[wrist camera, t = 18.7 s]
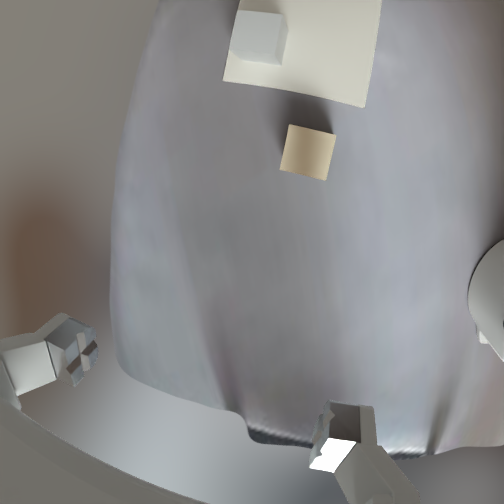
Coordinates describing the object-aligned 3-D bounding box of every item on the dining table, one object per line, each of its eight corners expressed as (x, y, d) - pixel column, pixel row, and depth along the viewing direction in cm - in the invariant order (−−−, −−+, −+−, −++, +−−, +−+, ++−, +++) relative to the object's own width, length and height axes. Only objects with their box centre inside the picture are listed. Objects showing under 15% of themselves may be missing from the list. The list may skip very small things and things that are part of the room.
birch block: (333, 135, 33) (336, 135, 28) (324, 173, 35) (325, 180, 30) (293, 125, 33) (289, 124, 28) (285, 164, 35) (279, 169, 30)
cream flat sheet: (386, -45, 22) (386, -46, 22) (364, 108, 31) (364, 108, 31) (257, -65, 24) (257, -66, 24) (223, 81, 33) (222, 80, 33)
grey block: (288, 30, 29) (282, 14, 24) (281, 65, 31) (274, 54, 26) (249, 26, 30) (237, 10, 25) (241, 60, 31) (228, 49, 26)
